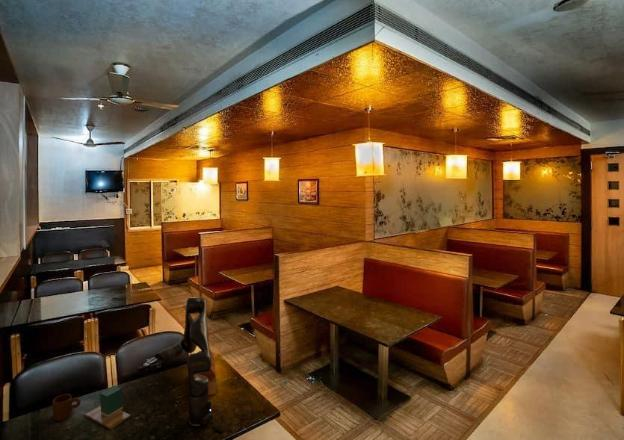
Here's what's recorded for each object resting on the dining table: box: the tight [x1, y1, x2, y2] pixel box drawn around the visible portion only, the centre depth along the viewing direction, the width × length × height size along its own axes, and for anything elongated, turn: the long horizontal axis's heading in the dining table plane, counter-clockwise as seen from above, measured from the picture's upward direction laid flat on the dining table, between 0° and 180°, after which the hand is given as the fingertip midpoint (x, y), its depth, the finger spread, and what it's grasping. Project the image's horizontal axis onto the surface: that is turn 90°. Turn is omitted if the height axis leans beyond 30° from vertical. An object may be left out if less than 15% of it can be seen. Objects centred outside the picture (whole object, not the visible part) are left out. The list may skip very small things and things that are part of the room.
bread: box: [196, 350, 218, 396], centre depth 197 cm, size 25×12×15 cm, turn 18°
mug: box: [51, 393, 82, 422], centre depth 169 cm, size 12×8×9 cm, turn 97°
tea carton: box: [99, 385, 124, 418], centre depth 171 cm, size 6×11×8 cm
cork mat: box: [84, 405, 132, 430], centre depth 169 cm, size 20×10×1 cm, turn 63°
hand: (138, 370), depth 183 cm, fingers closed
